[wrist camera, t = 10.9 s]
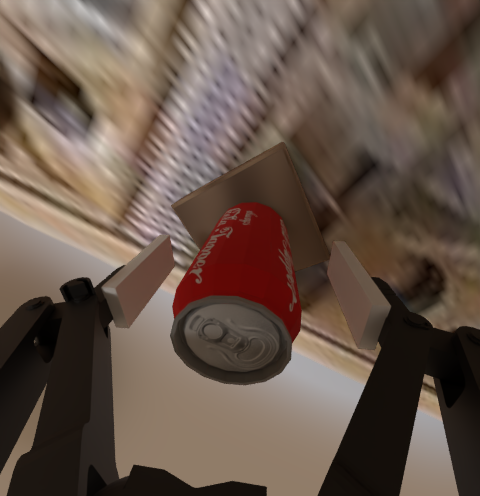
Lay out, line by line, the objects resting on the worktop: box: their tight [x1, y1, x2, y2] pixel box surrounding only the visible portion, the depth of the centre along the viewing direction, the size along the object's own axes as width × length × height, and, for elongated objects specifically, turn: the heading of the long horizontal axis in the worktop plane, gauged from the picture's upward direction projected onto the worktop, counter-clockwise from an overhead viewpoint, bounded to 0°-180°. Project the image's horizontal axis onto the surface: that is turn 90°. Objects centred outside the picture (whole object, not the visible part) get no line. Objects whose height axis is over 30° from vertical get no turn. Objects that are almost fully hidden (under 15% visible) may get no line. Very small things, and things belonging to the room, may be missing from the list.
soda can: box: [170, 202, 302, 385], centre depth 14 cm, size 6×6×12 cm
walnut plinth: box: [171, 142, 330, 271], centre depth 21 cm, size 11×11×4 cm
